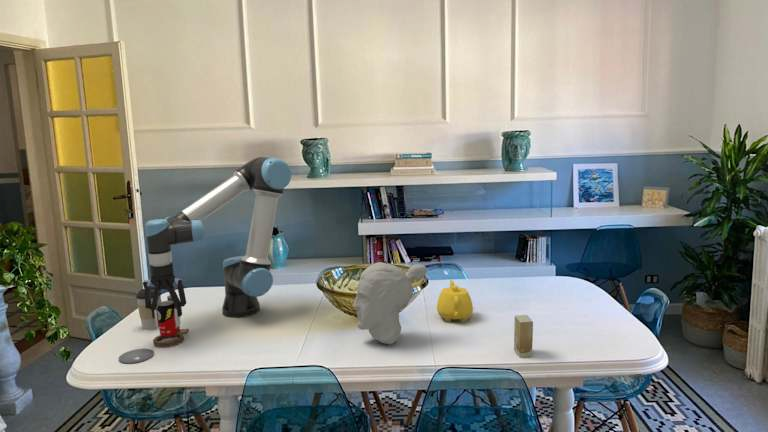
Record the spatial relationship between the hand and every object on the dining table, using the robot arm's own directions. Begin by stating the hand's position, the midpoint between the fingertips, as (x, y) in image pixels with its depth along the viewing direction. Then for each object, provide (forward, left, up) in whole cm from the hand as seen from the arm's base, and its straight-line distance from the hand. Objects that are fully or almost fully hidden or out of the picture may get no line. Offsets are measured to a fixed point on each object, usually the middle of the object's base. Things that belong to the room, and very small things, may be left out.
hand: (168, 325), depth 202 cm
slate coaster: (+7, +12, -6) cm, 16 cm away
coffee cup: (+12, -17, -6) cm, 22 cm away
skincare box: (-122, +25, -6) cm, 124 cm away
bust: (-80, +8, -6) cm, 80 cm away
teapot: (-106, -12, -6) cm, 107 cm away
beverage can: (0, 0, -4) cm, 4 cm away
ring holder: (0, -2, -6) cm, 7 cm away
